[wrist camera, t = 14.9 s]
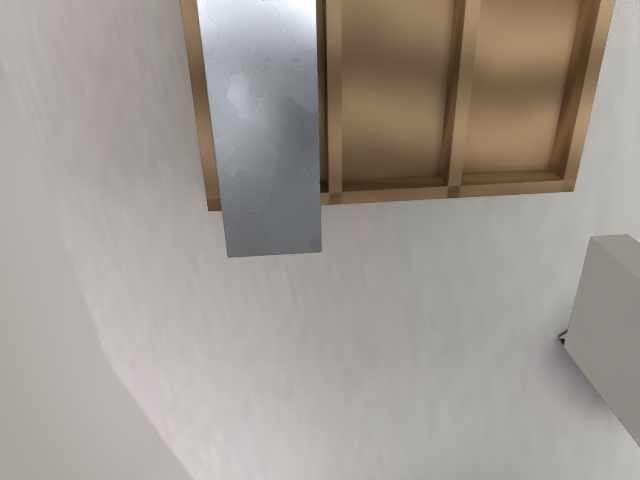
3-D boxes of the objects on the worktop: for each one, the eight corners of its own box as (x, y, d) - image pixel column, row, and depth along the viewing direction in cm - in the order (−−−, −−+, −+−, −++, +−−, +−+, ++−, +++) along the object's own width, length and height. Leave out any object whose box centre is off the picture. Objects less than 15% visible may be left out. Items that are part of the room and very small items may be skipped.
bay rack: (551, 174, 36) (575, 193, 33) (213, 192, 35) (207, 213, 32) (600, -79, 29) (637, -83, 26) (179, -70, 28) (169, -74, 25)
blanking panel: (305, 159, 33) (321, 252, 23) (241, 162, 33) (227, 257, 22) (299, -18, 29) (315, -5, 18) (224, -16, 28) (196, -1, 18)
